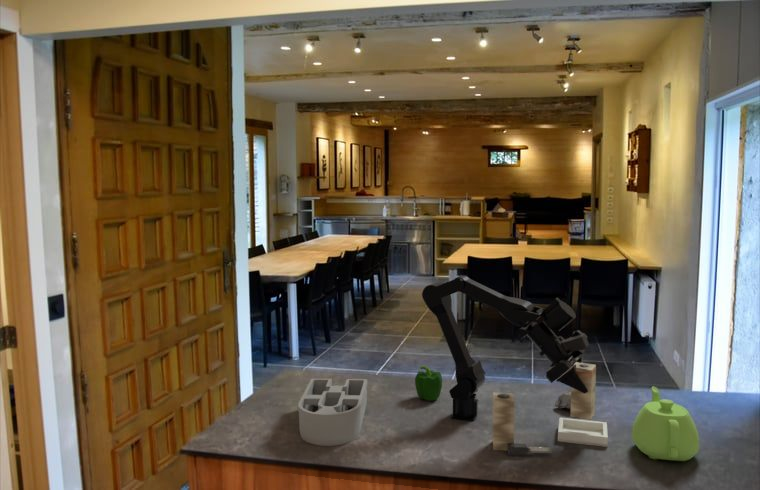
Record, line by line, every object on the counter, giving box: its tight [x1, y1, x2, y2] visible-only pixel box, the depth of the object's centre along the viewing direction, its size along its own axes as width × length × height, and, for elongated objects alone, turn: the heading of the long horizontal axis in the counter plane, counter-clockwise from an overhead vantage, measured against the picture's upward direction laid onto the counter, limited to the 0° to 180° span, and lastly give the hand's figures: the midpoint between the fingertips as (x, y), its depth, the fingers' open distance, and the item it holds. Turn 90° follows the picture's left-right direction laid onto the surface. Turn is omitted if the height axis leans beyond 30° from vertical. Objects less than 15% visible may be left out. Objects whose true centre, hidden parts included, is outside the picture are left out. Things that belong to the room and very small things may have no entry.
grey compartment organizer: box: [297, 378, 368, 447], centre depth 174 cm, size 17×28×9 cm, turn 176°
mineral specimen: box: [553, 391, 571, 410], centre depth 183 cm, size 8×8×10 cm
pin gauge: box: [506, 442, 553, 457], centre depth 155 cm, size 10×2×2 cm, turn 87°
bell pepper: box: [414, 365, 443, 402], centre depth 194 cm, size 8×8×10 cm
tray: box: [557, 417, 609, 448], centre depth 165 cm, size 12×10×2 cm
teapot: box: [631, 386, 700, 462], centre depth 156 cm, size 22×15×13 cm
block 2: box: [570, 362, 597, 421], centre depth 162 cm, size 5×5×13 cm
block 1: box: [492, 392, 515, 452], centre depth 159 cm, size 5×5×13 cm
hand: (588, 389), depth 162 cm, fingers closed on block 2, 5 cm apart
